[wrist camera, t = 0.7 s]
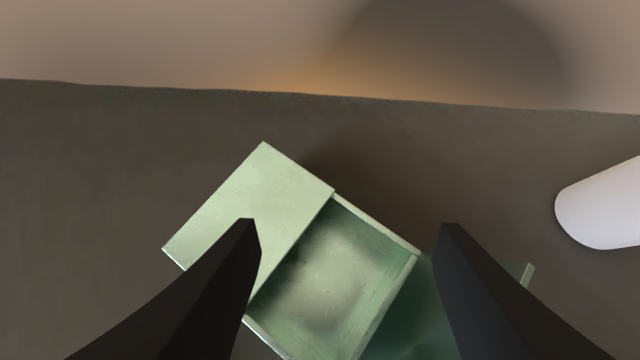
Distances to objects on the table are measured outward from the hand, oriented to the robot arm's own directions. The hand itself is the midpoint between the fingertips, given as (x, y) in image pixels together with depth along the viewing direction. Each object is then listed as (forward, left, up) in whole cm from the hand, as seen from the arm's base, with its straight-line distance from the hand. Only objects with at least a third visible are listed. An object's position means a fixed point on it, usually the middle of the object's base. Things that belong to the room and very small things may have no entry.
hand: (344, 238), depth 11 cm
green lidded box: (-1, +3, -16) cm, 16 cm away
